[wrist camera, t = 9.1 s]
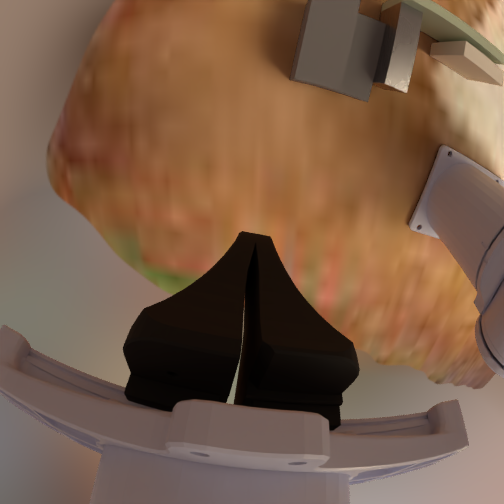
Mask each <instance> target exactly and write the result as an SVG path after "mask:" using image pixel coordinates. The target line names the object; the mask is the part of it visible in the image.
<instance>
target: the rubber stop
mask: <svg viewBox="0 0 504 504" xmlns="http://www.w3.org/2000/svg"><path fill="white" fill-rule="evenodd" d="M360 1H361V0H308V2H307V4H306V7H305V12H304V16H303V21H302V25H301V30H300V35H299V39H298V44H297V48H296V53H295V57H294V62H293V66H292V71H291V75H290V80H292V81H296V82H301V83H305V84H309V85H313V86H316V87H320V88H324V89H327V90H330V91H334V92H337V93H340V94H344V95H347V96H350V97H353V98H356V99H359V100H362V101H366V102H368V100H369V96H370V92H371V88H372V84H373V80H374V76H375V72H376V68H377V64H378V59H379V55H380V50H381V46H382V41H383V36H384V31H385V26H386V24H385V23H382V22H380V21H378V20H375V19H373V18H370V17H368V16H365V15H362V14H360V13H358V11H359V6H360Z"/></svg>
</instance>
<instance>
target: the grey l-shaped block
mask: <svg viewBox="0 0 504 504" xmlns="http://www.w3.org/2000/svg"><path fill="white" fill-rule="evenodd" d="M379 21H380V22H382V23H385V24H386V26H385V31H384V36H383V41H382V46H381V50H380V55H379V59H378V64H377V68H376V72H375V76H374V80H373V84H372V85H375V86H377V87H380V88H382V89H385V90H391V91H397V92H403V93H407V90H408V86H409V82H410V78H411V74H412V70H413V65H414V61H415V56H416V51H417V46H418V41H419V35H420V31H422V32H424V33H425V34H427V35H429V36H431V37H432V38H434V39H436V40H437V41H439V42H450V41H467V42H468V43H470V44H471V45H472V46H474V47H475V48H476V49H478V50H479V51H480V52H481V53H483V54H484V55H485V56H486V57H488V58H489V59H490V60H491V61H492V62H494V63H497V64H504V54H503V53H502V52H501V51H500V50H498V49H497V48H496V47H495V46H494V45H493V44H492V43H490V42H489V41H488V40H487V39H486V38H484V37H483V36H482V35H481V34H480V33H478V32H477V31H476V30H474V29H473V28H472V27H470V26H469V25H468V24H466V23H465V22H464V21H462V20H461V19H459V18H458V17H457V16H455V15H454V14H452V13H451V12H449V11H448V10H446V9H444V8H443V7H441V6H440V5H438V4H436V3H435V2H433V1H431V0H388V1H386V2H384V3H383V4H382V9H381V15H380V20H379Z"/></svg>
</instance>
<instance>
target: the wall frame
mask: <svg viewBox="0 0 504 504" xmlns="http://www.w3.org/2000/svg"><path fill="white" fill-rule="evenodd" d="M429 56H431V57H433V58H434V59H436V60H438V61H440V62H441V63H443V64H444V65H446V66H448V67H449V68H451V69H452V70H454V71H455V72H457V73H458V74H460V75H461V76H463V77H464V78H466V79H468V80H474V81H480V82H485V83H490V84H494V85H499V86H503V80H504V71H503V70H501V69H500V68H499V67H498V66H497V65H496V64H495V63H494V62H492V61H491V60H490V59H489V58H488V57H486V56H485V55H484V54H483V53H481V52H480V51H479V50H478V49H476V48H475V47H474V46H472V45H471V44H470V43H468V42H467V41H450V42H437V43H432V44H431V50H430V55H429Z"/></svg>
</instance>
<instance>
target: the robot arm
mask: <svg viewBox="0 0 504 504" xmlns="http://www.w3.org/2000/svg"><path fill="white" fill-rule="evenodd" d="M449 151H450V154H449V155H448V152H449ZM418 225H420V226H419V227H418V228H417V226H418ZM409 228H410V229H411V230H412V231H415V232H419V233H422V234H425V235H429V236H432V237H435V238H438V239H441V241H442V242H443V243H444V244H445V246H446V247H447V248H448V250H449V251H450V252H451V254H452V255H453V257H454V258H455V259H456V261H457V262H458V264H459V265H460V266H461V268H462V269H463V271H464V272H465V274H466V275H467V277H468V278H469V280H470V281H471V283H472V284H473V286H474V288H475V289H476V291H477V296H476V299H475V300H474V304H475V305H476V307H477V309H478V311H479V313H480V315H479V317H478V319H477V321H476V325H475V338H476V342H477V345H478V348H479V351H480V353H481V355H482V357H483V359H484V361H485V362H486V364H487V365H488V366H489V367H490V368H491V369H492V370H493V371H494V372H495V373H496V374H498V375H499V376H501V377H503V378H504V181H503V180H502V179H500V178H499V177H497V176H496V175H494V174H493V173H491V172H490V171H488V170H487V169H485V168H484V167H482V166H481V165H479V164H477V163H476V162H474V161H473V160H471V159H469V158H468V157H466V156H464V155H462V154H461V153H459V152H457V151H455V150H454V149H452V148H450V147H448V146H446V145H442V146H440V148H439V151H438V154H437V157H436V159H435V162H434V165H433V168H432V170H431V173H430V175H429V178H428V181H427V183H426V186H425V188H424V190H423V193H422V195H421V198H420V200H419V202H418V204H417V207H416V209H415V211H414V213H413V216H412V218H411V220H410V222H409ZM244 298H245V309H244ZM243 311H244V335H243V345H242V328H243ZM241 345H242V352H241ZM123 352H124V356H125V358H126V361H127V364H128V366H129V369H130V372H131V375H130V377H129V380H128V383H127V386H126V388H125V387H122V386H119V385H116V384H113V383H110V382H107V381H104V380H102V379H99V378H96V377H94V376H91V375H89V374H86V373H84V372H81V371H79V370H77V369H74V368H72V367H70V366H67V365H65V364H63V363H60V362H58V361H56V360H54V359H52V358H50V357H47V356H46V355H44V354H42V353H40V352H38V351H36V350H34V349H32V348H31V347H30V344H29V343H28V341H27V340H26V339H25V338H24V337H23V336H22V335H21V334H20V333H18V332H16V331H15V330H13V329H11V328H9V327H8V326H6V325H3V326H2V328H1V329H0V394H1V395H2V396H3V397H4V398H5V399H7V400H8V401H9V402H11V403H12V404H14V405H15V406H16V407H18V408H19V409H21V410H22V411H24V412H25V413H27V414H28V415H30V416H31V417H33V418H35V419H36V420H38V421H39V422H41V423H43V424H44V425H46V426H48V427H50V428H51V429H53V430H55V431H56V432H58V433H60V434H62V435H63V436H66V437H67V438H69V439H71V440H73V441H75V442H77V443H79V444H81V445H83V446H85V447H87V448H89V449H92V450H94V451H96V452H98V453H101V454H102V456H101V459H100V463H99V467H98V471H97V475H96V478H95V482H94V486H93V491H92V495H91V499H90V504H349V485H353V484H359V483H364V482H370V481H374V480H379V479H383V478H388V477H392V476H396V475H400V474H403V473H407V472H410V471H414V470H417V469H420V468H423V467H427V466H430V465H433V464H435V463H437V462H440V461H442V460H444V459H446V458H448V457H450V456H452V455H454V454H456V453H458V452H460V451H462V450H464V449H466V448H468V446H469V443H468V438H467V433H466V429H465V424H464V421H463V417H462V413H461V409H460V405H459V402H458V400H451V401H445V402H441V403H439V404H437V405H435V406H433V407H432V408H431V409H429V410H428V411H427V412H422V413H416V414H409V415H401V416H392V417H382V418H369V419H349V420H348V419H347V420H341V419H340V407H339V406H340V405H342V403H343V399H342V393H343V392H344V391H345V390H346V389H347V388H348V387H349V386H350V385H351V384H352V383H353V382H354V381H355V379H356V378H357V376H358V375H359V364H358V359H357V354H356V351H355V348H354V345H353V342H352V341H350V340H349V339H348V338H346V337H345V336H344V335H342V334H341V333H340V332H338V331H337V330H336V329H335V328H333V327H332V326H331V325H330V324H329V323H328V322H327V321H326V320H325V319H323V318H322V317H321V316H320V315H319V314H318V313H317V312H316V311H315V309H314V308H313V307H312V306H311V305H310V304H309V303H308V302H307V301H306V299H305V298H304V297H303V296H302V294H301V293H300V292H299V290H298V289H297V288H296V286H295V285H294V283H293V281H292V280H291V278H290V277H289V275H288V273H287V271H286V270H285V268H284V266H283V264H282V262H281V260H280V258H279V256H278V253H277V251H276V249H275V246H274V244H273V241H272V239H271V237H270V236H265V235H260V234H255V233H249V232H244V231H242V232H240V233H239V235H238V237H237V239H236V240H235V242H234V243H233V245H232V246H231V247H230V248H229V250H228V251H227V252H226V253H225V255H224V256H223V257H222V258H221V259H220V260H219V261H218V262H217V263H216V264H215V265H214V266H213V267H212V268H211V269H210V270H209V271H208V272H206V273H205V274H204V275H203V276H202V277H200V278H199V279H198V280H196V281H195V282H194V283H192V284H191V285H189V286H188V287H186V288H185V289H183V290H182V291H180V292H178V293H176V294H175V295H173V296H171V297H169V298H167V299H166V300H164V301H161V302H159V303H156V304H154V305H152V306H149V307H146V308H144V309H143V311H142V312H141V313H140V315H139V316H138V318H137V319H136V321H135V322H134V324H133V325H132V327H131V329H130V331H129V334H128V336H127V339H126V341H125V343H124V346H123ZM240 354H241V359H240ZM239 359H240V366H239V372H238V379H237V386H236V393H235V399H234V404H228V403H226V402H227V399H228V396H229V394H230V390H231V387H232V383H233V380H234V377H235V373H236V370H237V366H238V363H239Z"/></svg>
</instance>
